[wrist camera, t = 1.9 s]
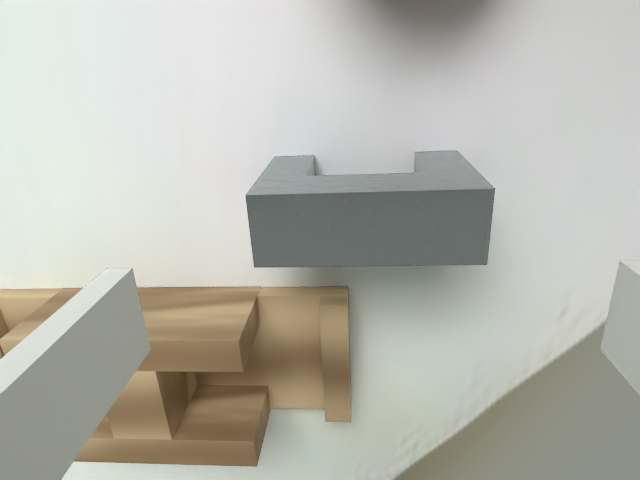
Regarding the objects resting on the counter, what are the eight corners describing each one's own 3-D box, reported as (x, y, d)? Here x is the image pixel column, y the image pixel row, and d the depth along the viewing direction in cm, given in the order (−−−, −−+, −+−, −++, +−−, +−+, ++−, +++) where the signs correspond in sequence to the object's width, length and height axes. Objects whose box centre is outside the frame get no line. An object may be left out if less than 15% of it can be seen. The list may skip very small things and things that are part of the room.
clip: (274, 156, 23) (245, 195, 17) (456, 150, 22) (495, 188, 16) (279, 212, 24) (254, 267, 18) (452, 208, 23) (486, 264, 17)
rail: (-16, 288, 27) (-95, 340, 22) (347, 285, 25) (345, 341, 20) (25, 393, 30) (-37, 458, 25) (351, 398, 28) (350, 469, 23)
